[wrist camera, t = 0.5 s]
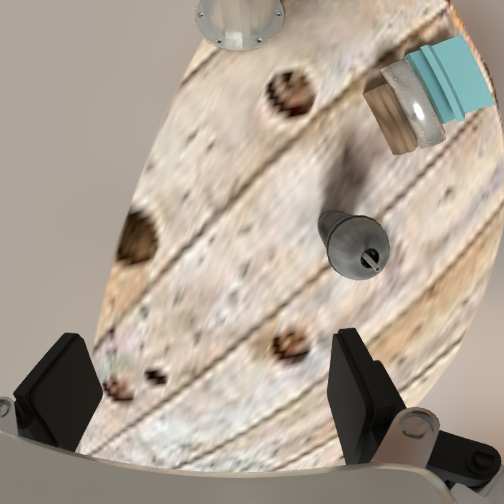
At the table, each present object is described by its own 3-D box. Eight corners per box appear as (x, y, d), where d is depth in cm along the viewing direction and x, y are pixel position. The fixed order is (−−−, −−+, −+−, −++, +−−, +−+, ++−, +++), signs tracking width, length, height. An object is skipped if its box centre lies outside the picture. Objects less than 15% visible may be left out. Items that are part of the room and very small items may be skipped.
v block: (403, 56, 37) (422, 45, 31) (445, 43, 35) (465, 33, 29) (437, 124, 40) (460, 122, 34) (475, 105, 38) (498, 102, 32)
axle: (375, 72, 35) (388, 64, 31) (398, 63, 34) (412, 56, 30) (413, 148, 38) (429, 148, 34) (435, 137, 37) (451, 136, 33)
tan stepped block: (362, 94, 39) (372, 88, 35) (407, 75, 37) (419, 69, 34) (393, 154, 41) (405, 154, 37) (435, 132, 40) (449, 131, 36)
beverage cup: (341, 257, 46) (395, 322, 27) (299, 237, 45) (334, 295, 26) (364, 214, 44) (435, 255, 25) (322, 192, 43) (376, 218, 24)
